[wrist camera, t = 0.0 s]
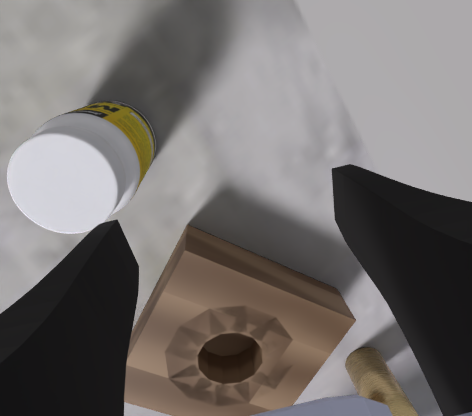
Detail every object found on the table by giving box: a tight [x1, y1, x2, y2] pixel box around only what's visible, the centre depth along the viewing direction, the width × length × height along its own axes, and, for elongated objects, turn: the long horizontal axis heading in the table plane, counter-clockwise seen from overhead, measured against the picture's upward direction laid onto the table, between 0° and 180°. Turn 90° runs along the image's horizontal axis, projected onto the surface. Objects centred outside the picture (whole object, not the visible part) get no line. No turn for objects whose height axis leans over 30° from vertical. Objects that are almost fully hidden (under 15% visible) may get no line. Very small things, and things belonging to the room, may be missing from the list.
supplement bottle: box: [7, 101, 156, 234], centre depth 17 cm, size 5×5×8 cm
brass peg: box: [345, 347, 418, 416], centre depth 25 cm, size 3×3×8 cm
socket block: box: [124, 225, 356, 416], centre depth 25 cm, size 12×12×4 cm
